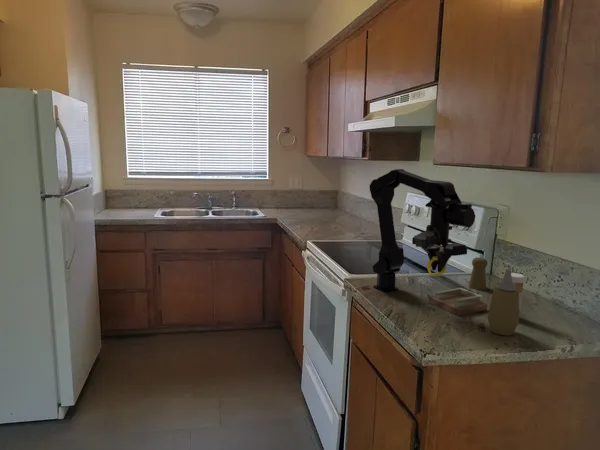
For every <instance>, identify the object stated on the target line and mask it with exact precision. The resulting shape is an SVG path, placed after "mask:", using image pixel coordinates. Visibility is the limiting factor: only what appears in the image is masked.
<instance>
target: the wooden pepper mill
mask: <svg viewBox="0 0 600 450" xmlns="http://www.w3.org/2000/svg"><path fill="white" fill-rule="evenodd" d="M471 265H472V271H471V275H470V279H469V283H468V288H470V289H471V290H472V289H473V290H476V291H477V290H478V291H484V290H486V289H487V276H486V274H487V273H486V267H487V266H488V260H487V258H484V257H474V258H473V259H472V261H471Z"/></svg>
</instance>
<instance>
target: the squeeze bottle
mask: <svg viewBox="0 0 600 450" xmlns="http://www.w3.org/2000/svg"><path fill="white" fill-rule="evenodd" d="M511 273H512V270H511V269H508V268H507V269H505V271H504V274H503V278H502V279H501V280H498V281H497V287H495V288H493V290H492V295H491V299H490V300H491V301H490V304H489V309H488V314H487V321H488V325H489V330H490V331H491V332H492V333H494V334H497V335H501V336H506V337H507V336H512V335H514V333H515V331H516V330H517V327H518V326H519V324H520V318H519V316H520V314H519V293H518V292H517V291H516V283H514V282H512V276H511Z"/></svg>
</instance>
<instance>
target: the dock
mask: <svg viewBox="0 0 600 450" xmlns="http://www.w3.org/2000/svg"><path fill="white" fill-rule="evenodd" d="M483 297H484V296H483V295H481V294H478V293H477V292H476V293H475V292H472V291H470V290H467V289H465V288H462V287H457V288H453V289H446V290H442V291H437V292H436V293H435V295H431V296H428V303H429V304H432V305H433V306H436V307H438V308H440V309H442V310H445V311H447V312H449V313H451V314H454V315H455V316H459V317H462V316H467V315H470V314H475V313H479V312H484V311H487V308H488V303H485V302H483Z"/></svg>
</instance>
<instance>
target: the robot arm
mask: <svg viewBox="0 0 600 450" xmlns="http://www.w3.org/2000/svg"><path fill="white" fill-rule="evenodd" d="M400 185H405V186H406V187H410V188H413V189H414V190H417V191H419V192H421V193H423V194H424V196H425V197H427V198H428V199H430V200H429V201H428V203H425V207H426V208H431V209H430V223H429V224H427V225H426V228H425V229H426V230H425V231H422V232H420V233H418V234H416V235H414V236H413V237H412V242H411V243H412V245H415V246H416V248H421V249H422V250H423V251H424V252H425V253H427V257H428V259H429V261H430V260H431V259H432V258H433V256H438V260H435V261H433V262H432V264H431V267H430V268H431V270H432V271H436V270H437V272H438V273H440V272H441V271H442V270H443V268H444V266H445V265H446V266H447V263H448V261H449V260H450V258H451V257H455V256H465V255H468V247H467V245H466V244H463V243H459V242H452V239H451V238H450V237H449V235H450V230H451V231H452V230H453V226H457V227H464V228H471V227H472V226H473V225H474V223H475V221H476V214H475V213H476V212H475V211H474V209H473V208H472V207H473V205H472V204H471V203H463V202H462V201H461V199H460V197H459V195H458V193H457V192H456V188H455V186H454V184H453V182H450V181H445V180H444V181H443V180H436V179H435V180H433V179H429V178H426V177H423V176H420V175H417V174H415V173H412V172H409V171H406V170H405V169H403V168H394V169H392V170H390V171H389V172H386V173H385V174H383V175H382V176H379V177H377V178H374V179H373V180H372V181H370V183H369V192H370V195H371V198H372V201H374V203H375V204H376V208H377V215H378V224H379V231H380V240H381V246H380V249H379V252H378V261H376V263H375V264H373V265H372V271H373V273H374V274H377V275H376V284H373V288H375V289H377V290H378V291H381V292H383V293H385V292H392V291H398V290H399V288H398V287H397V286H396V280H397V278H396V273H398V272H400V271H401V268H402V267H403V265H404V262H405V260H406V258H405V254H404V251H405V250H404V248H403V247H399V245H398V244H397V238H396V230H395V223H394V216H393V215H394V213H393V207H392V202H393V199H394V197H395V189H396V188H398V187H399V186H400Z"/></svg>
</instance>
